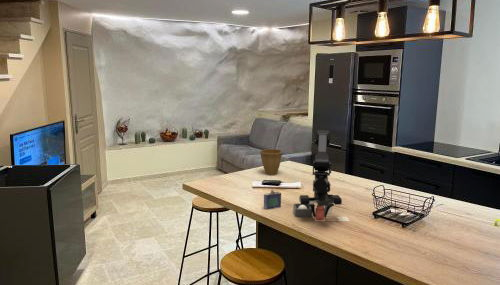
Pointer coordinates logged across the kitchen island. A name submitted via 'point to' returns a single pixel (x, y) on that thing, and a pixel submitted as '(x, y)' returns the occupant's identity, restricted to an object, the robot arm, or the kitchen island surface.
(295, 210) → the button housing
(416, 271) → the kitchen island surface
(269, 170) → the plant pot
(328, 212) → the beige cube
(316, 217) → the pawn
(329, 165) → the robot arm
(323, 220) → the board
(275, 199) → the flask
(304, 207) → the dome
